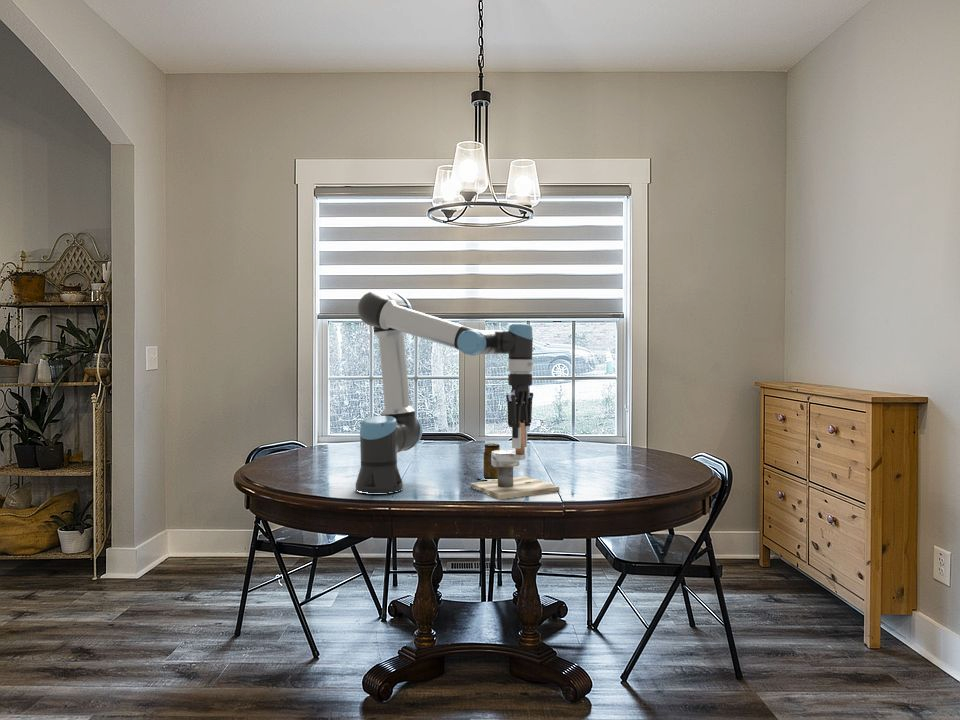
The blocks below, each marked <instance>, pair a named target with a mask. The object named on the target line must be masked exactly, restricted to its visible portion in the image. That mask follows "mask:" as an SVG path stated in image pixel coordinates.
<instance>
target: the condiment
mask: <svg viewBox="0 0 960 720" xmlns="http://www.w3.org/2000/svg"><path fill="white" fill-rule="evenodd" d="M500 447H501V446H500V444H499V443H485V444H484V451H483V455H482V456H483V457H482V459H483V476H484V478H485V479H498V467H493V466H492V465H491V452H492V451H496V450H501V449H500ZM483 476H482V477H483Z"/></svg>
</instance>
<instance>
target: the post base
mask: <svg viewBox="0 0 960 720" xmlns="http://www.w3.org/2000/svg"><path fill="white" fill-rule="evenodd" d="M469 487H472V488H475V489H477V490H480V491H482V492H484V493H483V494H485V493H486V494H485V495H487V494H489V495H488V496H490V495H491V496H490V497H492V496H493V497H492V498H495V497H496V498H495V499H497V498H498V499H497V500H500V501H501V499H502V500H507V498H509V499H515V498H514V497H516V498H521V497H522V496H523V497H527V496H528V497H529V495H530V496H536V494H537V495H541V494H543V493H544V494H549V492H551V493H556V491H558V492H560V485H559V486H558V485H556V484H552V483H550V482H546V481H543V480H539V479H536V478H534V477H530V476H527V475H526V476H525V475H524V476H518V477H514V467H498V480H493V481H479V482H477V481H476V482H470V485H469ZM472 488H471V489H472ZM475 489H474V490H475ZM477 490H476V491H477ZM480 491H479V492H480ZM482 492H481V493H482ZM523 497H522V498H523Z"/></svg>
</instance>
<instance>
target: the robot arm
mask: <svg viewBox="0 0 960 720" xmlns="http://www.w3.org/2000/svg"><path fill="white" fill-rule="evenodd" d="M357 304H358V305H357V313H358V316H359V318H360V320H361V321H362V322H363V323H364V324H365V325H367V326H370V327H373V334H374V335H375V336H376V337H377V338H378V343H379V345H378V346H379V354H380V366H381V367H380V368H381V379H382V388H383V389H382V390H383V401H384V402H383V403H384V409H383V410H382V411H381V413H380V415H377V416H371V417H367V418H364V420H362V421H361V423H360V428H359V429H360V430H359V436H360V437H359V440H360V441H359V443H360V468H359V471H358V475H357V478H356V480H355V481H356V482H355V485H354V486H355V488H356V489H355V491H356V490H358V491H362V492H368V493H389V492H395V491H399V490H401V489H404V487H403V485H404V484H403V480H402V477H401V474H400V471H399V468H398V453H401V452H405V451H409V450H411V449H413V448H414V447H416V446H417V445H418V444H419V442H420V441H421V439H422V435H423V427H422V423H421V422H420V420H419V419H418V418H417V417H416V410H415V409H414V408H413V406H411V403H410V401H411V400H410V389H409V379H408V378H409V377H408V370H407V369H408V368H407V355H406V354H407V353H406V345H405V344H406V343H405V335H406V334H407V335H411V336H415V337H418V338H421V339H425V340H427V341H431V342H434V343H436V344H440V345H443V346H446V347H450V348H453V349H455V350H457V351H460V352H461V353H463V354H465V355H467V356H471V357H472V356H478V355H503V354H504V355H506V354H507V355H508V358H507V359H508V360H507V362H508V363H507V364H508V366H507V372H508V375H507V376H508V378H507V383H508V385H509V386H510V387H511V390H510V394H506V396H505V398H506V402H507V403H506V408H507V425H508V427H509V428H512V430H511V433H512V434H511V435H512V436H511V443H512V444H511V448H512V449H515V448H518V449H520V448H521V428H520V427H519V425H520V422H524V423H525V448H527V447H528V427H531V424H532V416H533V415H532V413H533V398H534V392H530V390H529V386H530V387H531V386H532V385H533V374H532V373H531V372H533V366H534V363H533V343H534V342H533V341H534V338H533V327H532V325H531V324H528V323H510V324H508V329H507V330H505V329H504V330H499V329H498V330H496V329H494V330H492V329H490V330H489V329H476V328H473V327H472V328H471V327H470V326H469V327H468V326H465V325H462V324H460V323H456V322H453V321H449V320H446V319H442V318H440V317H437V316H434V315H429V314H426V313H424V312H420V311H417V310H415V309H414V310H413V309H412V305H411V303H410V302H409V300H408V299H407V298H406V297H405V296H403V295H401V294H399V293H396V292H385V291H379V290H378V291H377V290H374V291H370V292H367V293H365V294H364V295H362V297H361V298H360V300H359V301H358V303H357Z"/></svg>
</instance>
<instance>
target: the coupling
mask: <svg viewBox="0 0 960 720" xmlns="http://www.w3.org/2000/svg"><path fill="white" fill-rule="evenodd" d="M519 427H520V428H521V448H520V449H518V448H514V449H513V450H512V449H500V450H496V451H492V452H491V465H492V466H493V467H513V468H514V467H518V466H520V461H523V460H526V453H525V452H526V447H525V423H524V422H520V425H519Z"/></svg>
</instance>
